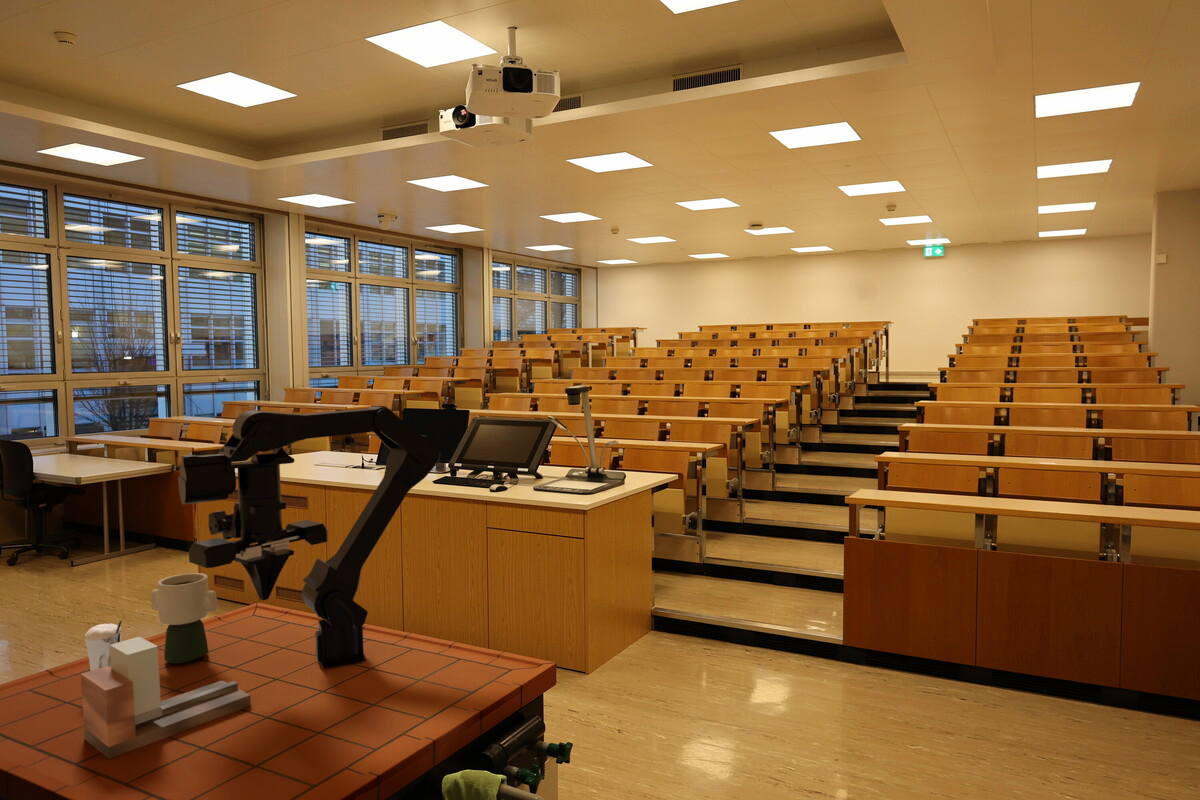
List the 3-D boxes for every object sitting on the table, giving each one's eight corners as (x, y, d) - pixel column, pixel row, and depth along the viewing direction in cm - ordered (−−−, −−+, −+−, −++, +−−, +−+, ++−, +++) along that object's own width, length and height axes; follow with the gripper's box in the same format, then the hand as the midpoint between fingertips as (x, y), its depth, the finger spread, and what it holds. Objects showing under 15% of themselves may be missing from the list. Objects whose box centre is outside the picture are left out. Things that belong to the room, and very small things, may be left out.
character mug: (231, 651, 126) (228, 573, 125) (205, 669, 119) (201, 586, 118) (169, 649, 127) (166, 572, 127) (139, 667, 120) (135, 585, 120)
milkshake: (111, 694, 111) (107, 626, 110) (80, 691, 112) (76, 624, 111) (136, 681, 115) (133, 615, 114) (106, 678, 116) (102, 613, 116)
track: (222, 690, 112) (219, 632, 111) (250, 705, 107) (248, 645, 106) (84, 739, 98) (80, 673, 97) (109, 759, 93) (105, 690, 92)
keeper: (142, 702, 102) (138, 636, 102) (162, 715, 99) (158, 646, 98) (112, 712, 99) (109, 644, 99) (131, 726, 96) (128, 655, 95)
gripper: (289, 481, 126) (293, 575, 127) (169, 499, 112) (174, 605, 113) (328, 488, 119) (331, 587, 120) (205, 508, 105) (210, 621, 106)
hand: (264, 599), depth 115 cm, fingers closed
